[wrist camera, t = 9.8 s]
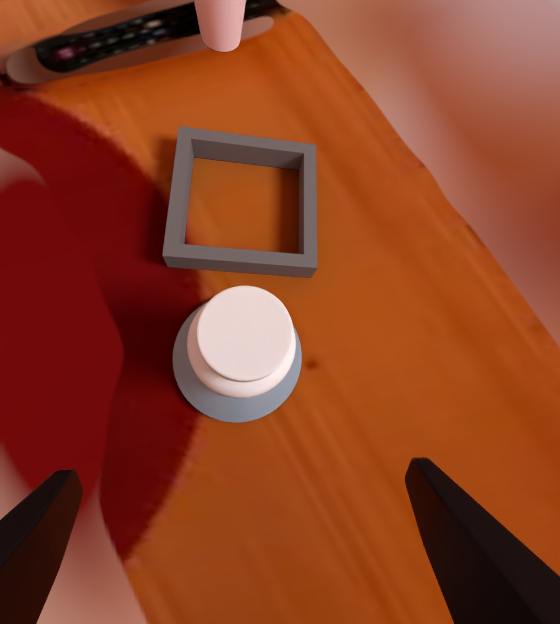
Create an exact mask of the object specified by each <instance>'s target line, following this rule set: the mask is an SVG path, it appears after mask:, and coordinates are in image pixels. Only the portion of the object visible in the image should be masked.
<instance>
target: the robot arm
mask: <svg viewBox="0 0 560 624" xmlns="http://www.w3.org/2000/svg"><path fill="white" fill-rule="evenodd" d="M405 484H406V488H407V491H408V494H409V498H410V501H411V505H412V508H413V512H414V515H415V518H416V522H417V525H418V529H419V532H420V535H421V539H422V542H423V545H424V548H425V550H426V553H427V556H428V558H429V561H430V563H431V566H432V568H433V571H434V573H435V576H436V578H437V581H438V584H439V586H440V589H441V591H442V594H443V596H444V599H445V601H446V604H447V606H448V609H449V612H450V614H451V617H452V619H453V622H454V624H560V576H559V575H558V574H556V573H555V572H554V571H553V570H552V569H551V568H550V567H549V566H548V565H546V564H545V563H544V562H543V561H542V560H541V559H540V558H539V557H538V556H536V555H535V554H534V553H533V552H532V551H531V550H530V549H529V548H527V547H526V546H525V545H524V544H523V543H522V542H521V541H520V540H519V539H517V538H516V537H515V536H514V535H513V534H512V533H511V532H510V531H509V530H507V529H506V528H505V527H504V526H503V525H502V524H501V523H500V522H499V521H497V520H496V519H495V518H494V517H493V516H492V515H491V514H490V513H489V512H487V511H486V510H485V509H484V508H483V507H482V506H481V505H480V504H479V503H477V502H476V501H475V500H474V499H473V498H472V497H471V496H470V495H469V494H467V493H466V492H465V491H464V490H463V489H462V488H461V487H460V486H459V485H457V484H456V483H455V482H454V481H453V480H452V479H451V478H450V477H449V476H447V475H446V474H445V473H444V472H443V471H442V470H441V469H440V468H439V467H437V466H436V465H435V464H434V463H433V462H432V461H431V460H429V459H428V458H425V457H421V458H413V459H412V460H411V462H410V464H409V467H408V470H407V472H406V475H405ZM82 496H83V488H82V485H81V483H80V480H79V477H78V475H77V472H76V471H75V470H58V471H56V472H54V473H53V474H52V475H51V476H50V477H48V478H47V479H46V480H45V481H44V482H43V483H42V484H40V485H39V486H38V487H37V488H36V489H35V490H34V491H33V492H32V493H30V494H29V495H28V496H27V497H26V498H25V499H23V500H22V501H21V502H20V503H19V504H18V505H17V506H16V507H14V508H13V509H12V510H11V511H10V512H9V513H8V514H6V515H5V516H4V517H3V518H2V519H1V520H0V624H36V623H37V620H38V618H39V616H40V614H41V611H42V609H43V606H44V604H45V602H46V599H47V597H48V595H49V592H50V590H51V588H52V585H53V583H54V581H55V578H56V576H57V573H58V571H59V568H60V565H61V562H62V560H63V556H64V553H65V550H66V547H67V544H68V541H69V538H70V534H71V532H72V529H73V525H74V522H75V519H76V516H77V513H78V510H79V506H80V503H81V500H82Z"/></svg>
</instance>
